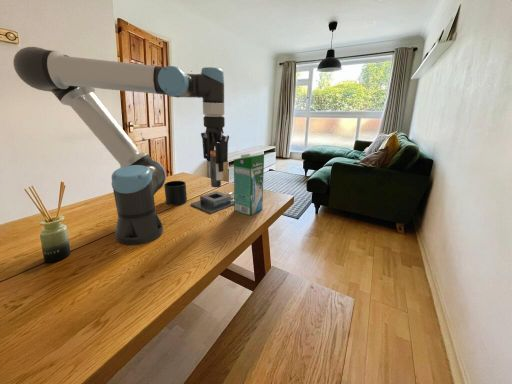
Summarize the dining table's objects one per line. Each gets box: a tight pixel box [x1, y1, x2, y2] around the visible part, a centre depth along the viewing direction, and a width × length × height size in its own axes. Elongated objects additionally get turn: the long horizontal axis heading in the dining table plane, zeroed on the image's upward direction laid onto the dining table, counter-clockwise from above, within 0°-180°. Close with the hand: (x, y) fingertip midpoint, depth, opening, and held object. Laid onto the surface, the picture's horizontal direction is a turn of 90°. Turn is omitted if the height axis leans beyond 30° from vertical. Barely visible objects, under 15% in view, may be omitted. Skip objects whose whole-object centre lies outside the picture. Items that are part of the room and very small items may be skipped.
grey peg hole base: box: [190, 190, 234, 214], centre depth 116 cm, size 22×14×4 cm, turn 139°
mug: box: [163, 180, 188, 206], centre depth 116 cm, size 9×12×9 cm
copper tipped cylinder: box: [210, 149, 222, 188], centre depth 95 cm, size 4×4×14 cm
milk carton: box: [233, 153, 265, 217], centre depth 105 cm, size 9×9×25 cm
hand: (215, 178), depth 96 cm, fingers closed on copper tipped cylinder, 4 cm apart
